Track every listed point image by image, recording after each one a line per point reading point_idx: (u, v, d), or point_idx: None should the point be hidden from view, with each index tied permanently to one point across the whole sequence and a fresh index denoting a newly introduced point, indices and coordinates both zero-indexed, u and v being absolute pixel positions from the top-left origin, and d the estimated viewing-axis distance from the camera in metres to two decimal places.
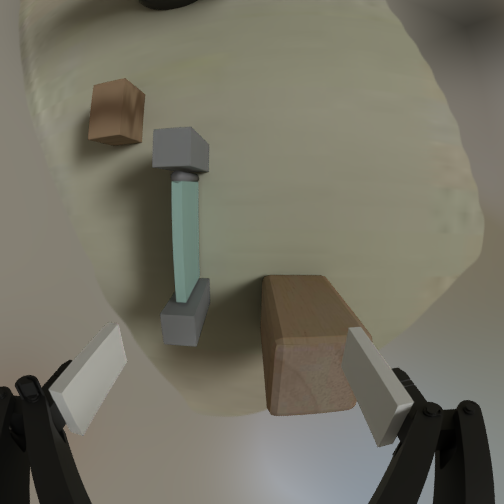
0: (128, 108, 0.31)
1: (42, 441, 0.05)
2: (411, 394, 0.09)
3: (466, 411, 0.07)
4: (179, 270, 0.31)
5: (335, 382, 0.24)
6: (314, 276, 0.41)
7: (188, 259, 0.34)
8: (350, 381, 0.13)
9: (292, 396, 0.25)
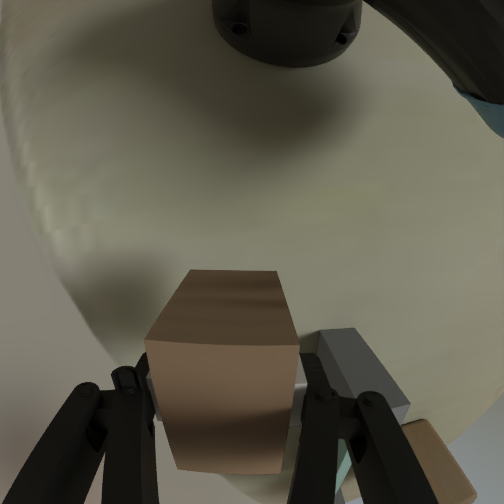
0: None
1: (127, 436, 0.07)
2: (316, 377, 0.11)
3: (368, 403, 0.09)
4: (336, 485, 0.21)
5: None
6: (421, 424, 0.31)
7: None
8: None
9: None
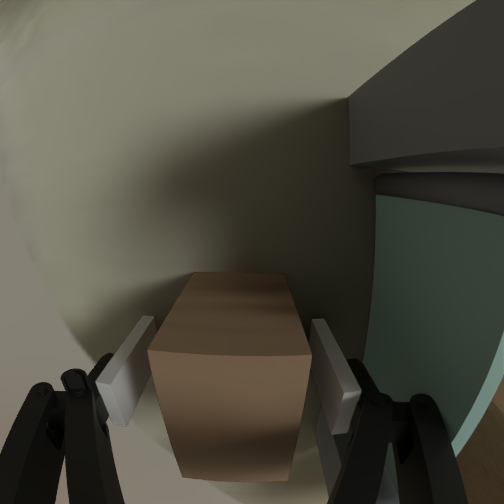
0: None
1: (82, 436, 0.06)
2: (364, 383, 0.10)
3: (419, 405, 0.08)
4: None
5: None
6: None
7: None
8: (313, 371, 0.14)
9: None
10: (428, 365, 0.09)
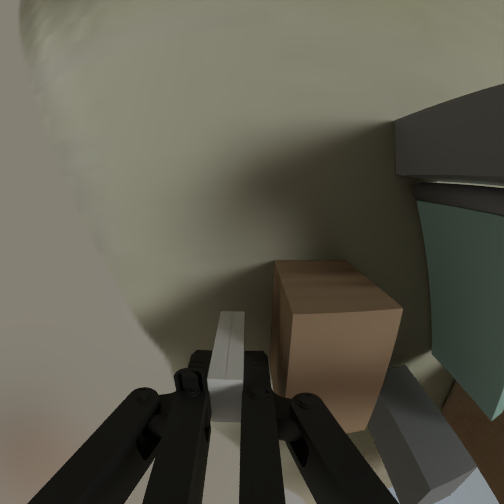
0: None
1: (182, 441, 0.07)
2: (258, 375, 0.11)
3: (304, 406, 0.09)
4: None
5: None
6: None
7: None
8: None
9: None
10: (483, 314, 0.12)
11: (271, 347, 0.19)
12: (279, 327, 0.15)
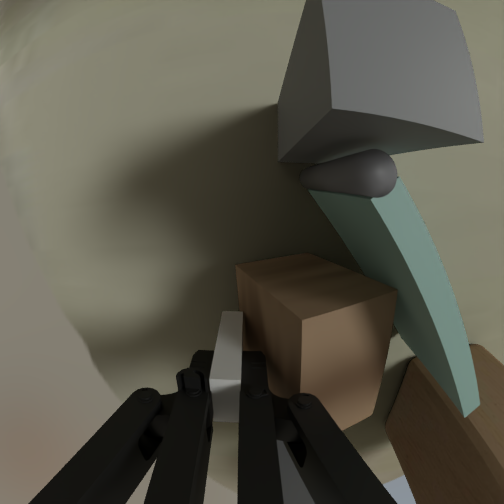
0: None
1: (184, 441, 0.07)
2: (256, 375, 0.11)
3: (301, 406, 0.09)
4: (466, 378, 0.09)
5: None
6: (474, 349, 0.19)
7: None
8: None
9: None
10: (405, 307, 0.12)
11: None
12: (264, 335, 0.14)
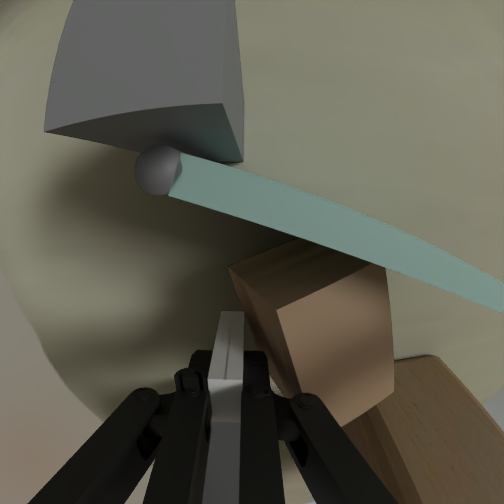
0: None
1: (183, 441, 0.07)
2: (258, 375, 0.11)
3: (303, 406, 0.09)
4: (462, 278, 0.08)
5: None
6: (427, 361, 0.19)
7: None
8: None
9: None
10: None
11: None
12: (262, 330, 0.14)
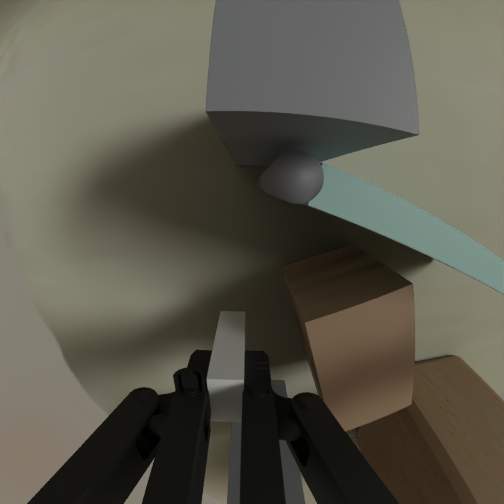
0: None
1: (182, 441, 0.07)
2: (259, 375, 0.11)
3: (304, 406, 0.09)
4: None
5: None
6: (451, 360, 0.19)
7: None
8: None
9: None
10: None
11: (304, 347, 0.19)
12: (302, 330, 0.15)
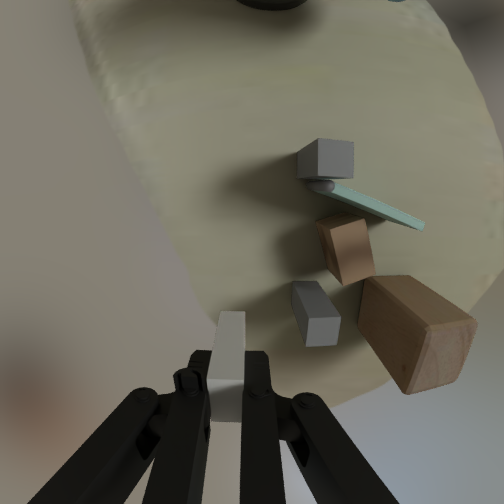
0: None
1: (182, 441, 0.07)
2: (259, 375, 0.11)
3: (304, 406, 0.09)
4: (402, 216, 0.31)
5: (453, 358, 0.26)
6: (405, 276, 0.43)
7: None
8: None
9: (426, 375, 0.26)
10: (366, 208, 0.34)
11: (326, 260, 0.43)
12: (327, 243, 0.38)
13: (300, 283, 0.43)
